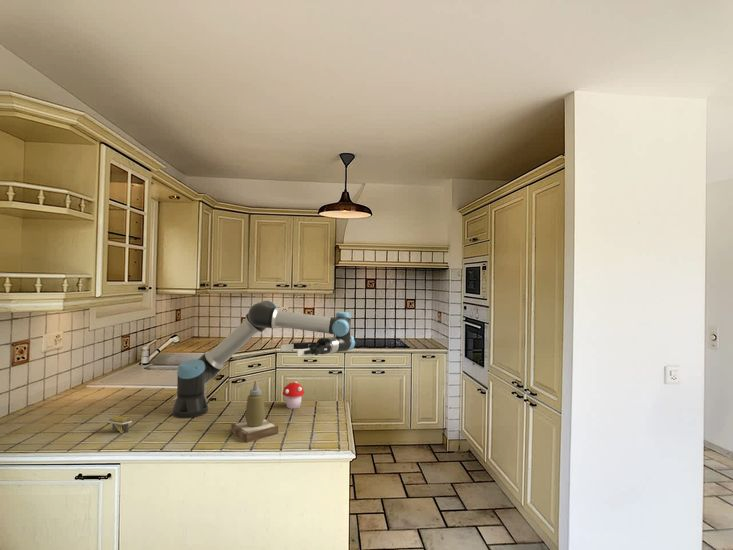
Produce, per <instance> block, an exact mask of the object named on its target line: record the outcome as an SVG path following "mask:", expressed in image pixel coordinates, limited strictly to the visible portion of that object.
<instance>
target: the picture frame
mask: <svg viewBox="0 0 733 550" xmlns="http://www.w3.org/2000/svg"><path fill="white" fill-rule="evenodd" d="M230 429H231V430H230V431H231V433H233V434H234V435H236V436H237V437H238V438H239V439H241V440H243V441H244V442H246V443H249V442H254V441H257V440H261V439H264V438H268V437H270V436H275V435H278V434H279V425H277V424H275V423H274V422H272V421H270V420H268V419H267V418H265V417H264V420H263V423H262V425H260V426H257V427H250V426H248V424H247V421H246V420H244V421H240V422H239V421H238V422H236V423H231V428H230ZM267 436H268V437H267Z"/></svg>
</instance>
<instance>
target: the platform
mask: <svg viewBox="0 0 733 550" xmlns="http://www.w3.org/2000/svg"><path fill="white" fill-rule="evenodd" d="M127 418H128V416H123V415H118V414H115V416H112V417H110V418H109V419H108V423H110V424H112V430H113V431H118V432H119V433H121V434H123V433H124V432H125V433H129V424H131V423H132V421H133V420H132V419H127Z"/></svg>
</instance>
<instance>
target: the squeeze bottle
mask: <svg viewBox="0 0 733 550" xmlns="http://www.w3.org/2000/svg"><path fill="white" fill-rule="evenodd" d="M262 393H263V392H262V389H261V388H259V381H257V380H255V381H254V382H253V387H252V389H250V390H249V395H248V396H247V399H246V407H245V415H244V419H245V421H247V424H248V426H250V427H257V426H260V425H262V423H263V420H264V418H265V417H266V407H265V397H264V395H263V394H262Z"/></svg>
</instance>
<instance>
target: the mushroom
mask: <svg viewBox="0 0 733 550" xmlns="http://www.w3.org/2000/svg"><path fill="white" fill-rule="evenodd" d="M282 395H283V396H284V397H285V403H286V408H288V409H292V410H293V409H294V410H295V409H299V408H300V407H301V405H302V400H303V399H302V396H304V395H305V390H304V387H303V386H302V385H301V384H300V383H298V381H296V380H295V381H293V382H289V383H288V384H287V385H286V386H284V387H283V390H282Z"/></svg>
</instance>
